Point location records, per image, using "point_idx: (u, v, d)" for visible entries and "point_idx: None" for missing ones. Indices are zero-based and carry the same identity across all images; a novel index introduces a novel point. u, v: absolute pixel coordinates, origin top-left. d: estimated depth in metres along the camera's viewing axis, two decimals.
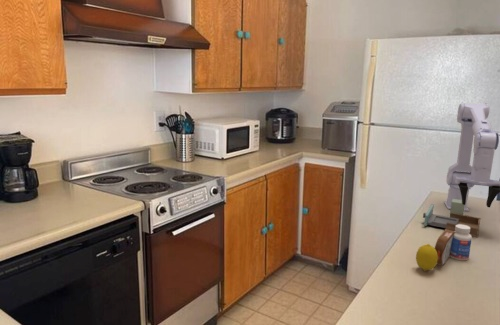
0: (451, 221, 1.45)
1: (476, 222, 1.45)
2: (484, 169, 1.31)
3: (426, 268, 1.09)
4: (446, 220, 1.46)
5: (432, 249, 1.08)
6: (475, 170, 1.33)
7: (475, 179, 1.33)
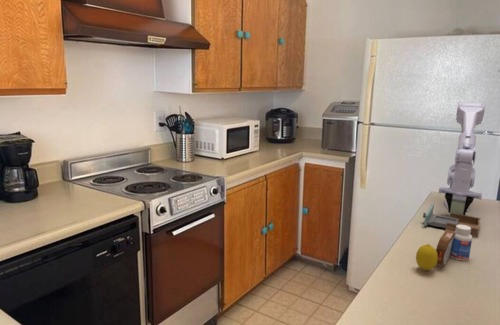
0: (451, 221, 1.45)
1: (476, 222, 1.45)
2: (461, 181, 1.47)
3: (426, 268, 1.09)
4: (446, 220, 1.46)
5: (432, 249, 1.08)
6: (454, 182, 1.49)
7: (454, 190, 1.49)
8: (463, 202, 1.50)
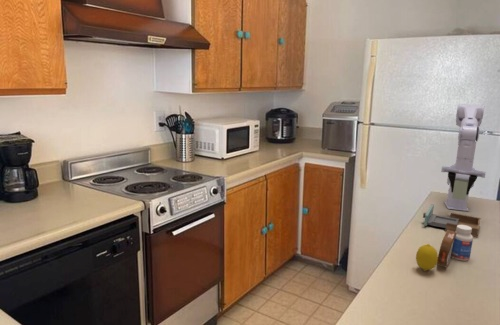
0: (451, 221, 1.45)
1: (476, 222, 1.45)
2: (465, 159, 1.45)
3: (426, 268, 1.09)
4: (446, 220, 1.46)
5: (432, 249, 1.08)
6: (457, 160, 1.47)
7: (457, 168, 1.47)
8: (466, 181, 1.47)
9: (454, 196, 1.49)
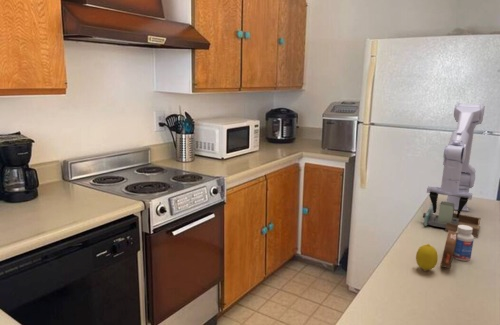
0: None
1: (476, 222, 1.45)
2: (450, 180, 1.38)
3: (426, 268, 1.09)
4: None
5: (432, 249, 1.08)
6: (443, 181, 1.40)
7: (443, 189, 1.40)
8: (452, 205, 1.41)
9: (439, 221, 1.43)
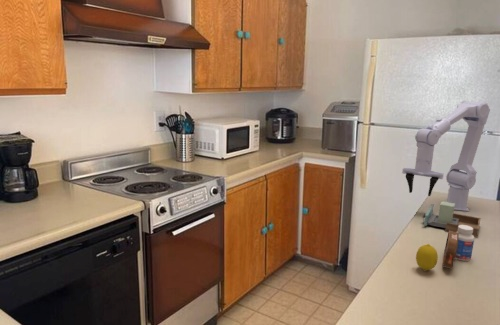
0: None
1: (476, 222, 1.45)
2: (423, 161, 1.49)
3: (426, 268, 1.09)
4: None
5: (432, 249, 1.08)
6: (417, 162, 1.51)
7: (416, 170, 1.52)
8: (452, 205, 1.41)
9: (439, 221, 1.43)
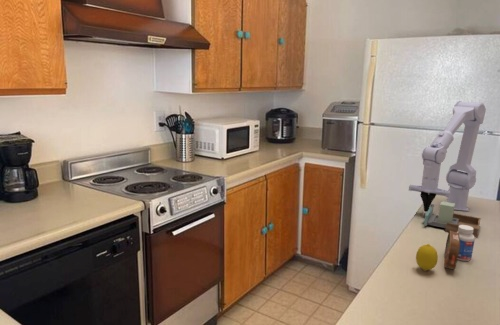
0: None
1: (476, 222, 1.45)
2: (430, 179, 1.49)
3: (426, 268, 1.09)
4: None
5: (432, 249, 1.08)
6: (423, 179, 1.51)
7: (423, 187, 1.51)
8: (452, 205, 1.41)
9: (439, 221, 1.43)
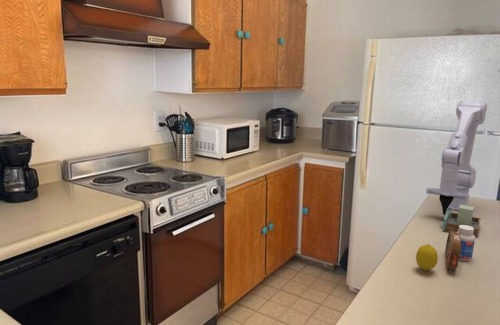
0: None
1: None
2: (448, 182, 1.46)
3: (426, 268, 1.09)
4: None
5: (432, 249, 1.08)
6: (441, 182, 1.48)
7: (441, 190, 1.48)
8: (471, 208, 1.38)
9: (458, 224, 1.40)
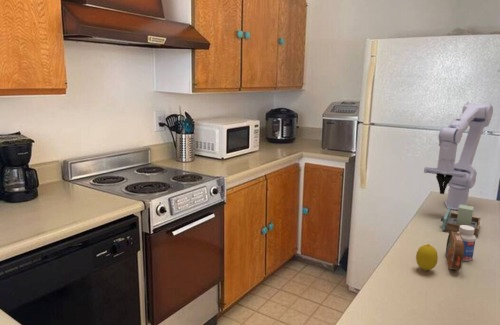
0: None
1: None
2: (446, 160, 1.47)
3: (426, 268, 1.09)
4: None
5: (432, 249, 1.08)
6: (439, 161, 1.49)
7: (439, 169, 1.49)
8: (471, 208, 1.38)
9: (458, 224, 1.40)
